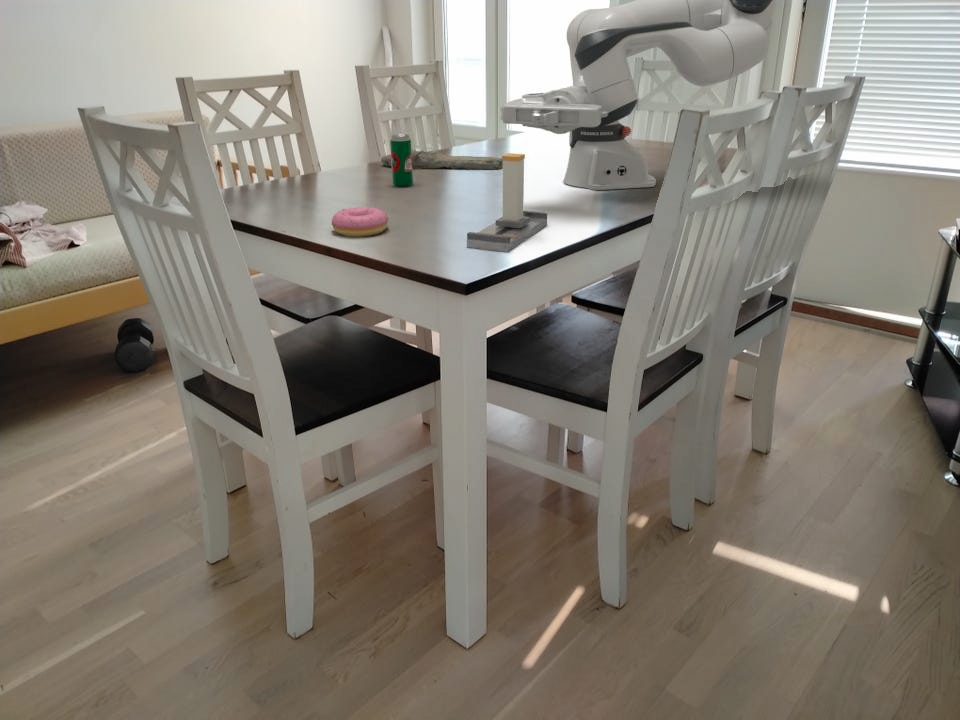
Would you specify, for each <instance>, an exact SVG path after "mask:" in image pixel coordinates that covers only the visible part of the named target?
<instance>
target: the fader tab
mask: <svg viewBox="0 0 960 720" xmlns="http://www.w3.org/2000/svg"><path fill="white" fill-rule="evenodd" d="M525 156H526V155H525V153H512V152H510V153H506V154H503V155H501V159H502V160H503V168H502V216H501V217H500V218H497V219H496V220H495V222H496V226H503V227H512V228H521V227H523V226H525V225H526V224H528V223H529V222H530V217H526V216H523V210H524V198H525V197H524V195H525V194H524V192H525V190H524V189H525V188H524V187H525V186H524V184H525V183H524V182H525V181H524V180H525V179H524V178H525V159H526V157H525Z"/></svg>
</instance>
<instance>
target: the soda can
mask: <svg viewBox="0 0 960 720" xmlns="http://www.w3.org/2000/svg"><path fill="white" fill-rule="evenodd" d="M390 137H391V138H390V140H389V146H390V155H391V163H392V166H391V175H392V176H391V180H392V184H393V186H394V187H396V188H409V187H412V185H413V184H414V176H413V175H414V174H413V173H414V172H413V170H414V169H413V168H412V150H413V149H412V139H411V138H410V135H409V134H405V133H404V134H403V133H401V134H392V135H391V136H390Z"/></svg>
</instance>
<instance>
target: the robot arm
mask: <svg viewBox="0 0 960 720" xmlns="http://www.w3.org/2000/svg"><path fill="white" fill-rule="evenodd" d="M774 5H775V0H632V1H628V2H626V3H623V4H620V5H616V6H612V7H611V6H610V7H606V8H604V7H603V8H592V9H591V8H590V9H589V8H588V9H586V10H583V11H581V12H580V13H578V14H577V15H576V16H575V17H574V18H572V19H571V21H570V22H569V24H568V27H567V30H566V40H567V45H568V50H569V59H570V61H569V62H570V68H571V75H572V85H571V86H566V87H563V88H559V89H553V90H550V91H547V92H540V93H537V92H536V93H525V94H523V95H522V96H521V97H522V98H517V99H513V100H511V101H508V102H506V103H504V104H503V105H502V109H501V110H502V111H501V116H502V117H501V118H502V120H501V121H502V123H504V124H506V125H521V126H522V127H527V128H535V129H541V130H543V131H547V132H551V133H553V134H557V135H564V134H567V133H569V136H568V137H569V141H568V143H569V150H570V151H569V154H568V155H569V156H568V162H567V167H566V170H565V171H566V172H565V174H564V178H563V181H562V182H563V183H564V184H566V185H569V186H573V187H579V188H586V189H590V190H595V191H603V190H605V191H606V190H620V189H638V188H653V187H655V186H656V184H657V179H656V178H655V176H653V175H650V174H648V164H647V160H646V157H645V155H643V154H642V153H641V152H640V151H639V150H638V149H637V148H636V147H635V146H634V145H632V144H631V143H630V142H629V141H628V140H627V139H626V138H627V137H628V136H631V135H630V134H632V129H631V127H629V126H627V125H623V124H621V122H620V121H619V120H622V119H623V118H625V117H628V116H630V115H631V114H632V112H633V111H634V109H635V108H636V106H637V104H638V102H639V101H638V100H639V99H638V95H637V94H638V93H637V90H636V86H635V82H634V79H633V75H632V73H631V69H630V66H629V63H628V59H627V58H629V57H632V56H636V55H638V54H641V53H643V52H645V51H648V50H651V49H653V48H658V49H660V50H661V51H662V52H664V54H665V55H666V56H667V57H668V58H669V59H670V61H671V62H672V64H673V65H674V67H675V70H677V72H678V74H680V76H681V77H682V78H683V79H684V80H686V81H687V82H689V83H690V84H692V85H694V86H697V87H707V86H712V85H716V84H719V83H722V82H725V81H728V80H730V79H733V78H735V77H737V76H740V75H742V74H743V73H745V72H747V71H749V70H750V69H752V68H754V67H756V66H757V65H758V64H760V63H761V62H762V61H763V60H764V58H766V56H767V52H768V49H769V37H768V36H769V32H770V29H771V25H772V19H773V18H772V17H773V12H774Z"/></svg>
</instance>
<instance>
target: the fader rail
mask: <svg viewBox="0 0 960 720" xmlns="http://www.w3.org/2000/svg"><path fill="white" fill-rule="evenodd" d="M523 216H526V217H530V222H529V223H528V224H526V225H525V226H523V227H521V228H512V227H503V226H496V221H495V222H494V223H492V224H491V225H489V226H486V227H485V228H483V229H481V230H480V231H479V232H474V231H473V232H472V231H469V232H467V233H466V248H470V249H480V250H488V251H496V252H504V253H509V252H510V251H512V250H514V249H515V248H516V247H518V246H519V245H520V244H522V243H524V242H525V241H527V240H528V239H529V238H531V237H532V236H534V235H535V234H537V233H538V232H539V231H541V230H543V229H544V228H545V227H546V226H548V212H545V211H543V212H542V211H533V210H524V209H523Z"/></svg>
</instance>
